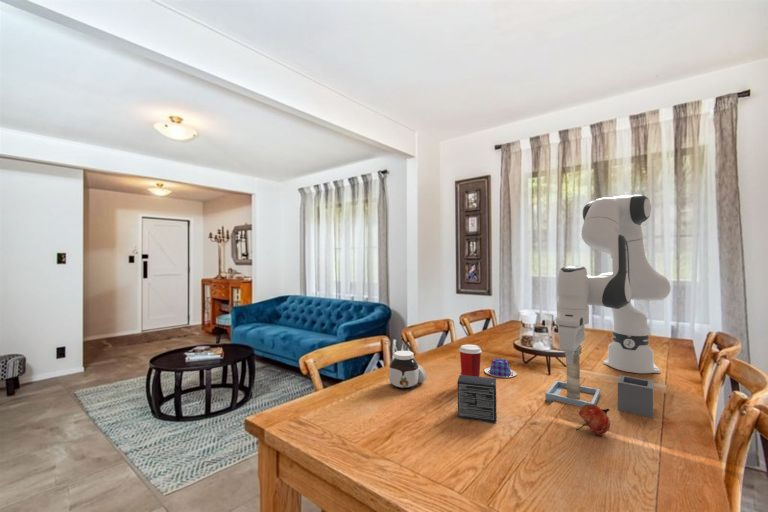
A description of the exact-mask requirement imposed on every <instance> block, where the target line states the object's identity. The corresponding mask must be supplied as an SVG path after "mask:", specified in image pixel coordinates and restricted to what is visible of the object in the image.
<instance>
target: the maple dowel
mask: <svg viewBox="0 0 768 512" xmlns="http://www.w3.org/2000/svg"><path fill="white" fill-rule="evenodd" d="M573 358H574V363H573V364H572V365H571V364H567V363H566V383H567V388H566V397H569V398H573V399H580V397H581V391H580V386H581V385H580V384H581V374H580V373H581V371H580V369H581V367H580V366H581V365H580V359H581V358H580V355H579V356H578V355H574V354H573Z"/></svg>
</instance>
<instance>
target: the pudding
mask: <svg viewBox="0 0 768 512" xmlns="http://www.w3.org/2000/svg"><path fill="white" fill-rule="evenodd" d="M489 370H490V371H489ZM488 371H489V372H488ZM484 372H485V373H486V374H487V375H490V376H492V377H495V378H506V377H508V376H509V377H508V378H513V377H516V376H517V374H518V373H517V372H516V370H513V369H511V367H510V363H509V361H508V360H506V359H504V358H494V359H492V361H491V365H490V367H487V368H484ZM511 372H513V376H511V375H512V374H511ZM510 374H511V375H510ZM505 376H506V377H505Z"/></svg>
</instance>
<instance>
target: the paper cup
mask: <svg viewBox="0 0 768 512" xmlns="http://www.w3.org/2000/svg"><path fill="white" fill-rule="evenodd" d="M458 351H459V355H460V356H459V357H460V359H459V360H460V372H461V373H460V375H467V376H476V377H481V376H480V372H481V356H482V355H481V354H482V349H481V347H480V346H479V345H477V344H463V345H462V344H461V346H460V347H459V349H458Z"/></svg>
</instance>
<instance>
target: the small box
mask: <svg viewBox="0 0 768 512" xmlns="http://www.w3.org/2000/svg"><path fill="white" fill-rule="evenodd" d="M456 382H457V418H458V419H463V420H469V421H471V420H472V421H478V422H484V423H491V424H497V422H498V421H497V417H498V416H497V413H498V412H497V377H486V376H485V377H483V376H479V377H476V376H467V375H461V374H460V375H459V376H458V379H457V381H456Z"/></svg>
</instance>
